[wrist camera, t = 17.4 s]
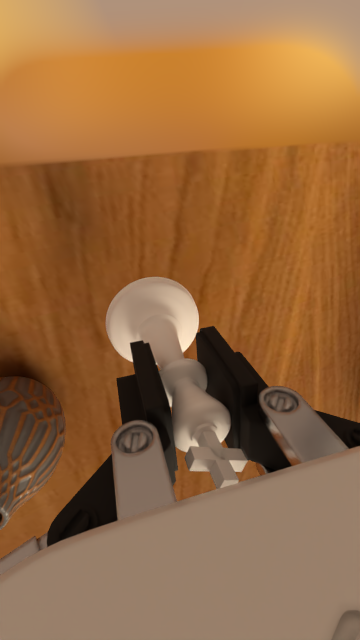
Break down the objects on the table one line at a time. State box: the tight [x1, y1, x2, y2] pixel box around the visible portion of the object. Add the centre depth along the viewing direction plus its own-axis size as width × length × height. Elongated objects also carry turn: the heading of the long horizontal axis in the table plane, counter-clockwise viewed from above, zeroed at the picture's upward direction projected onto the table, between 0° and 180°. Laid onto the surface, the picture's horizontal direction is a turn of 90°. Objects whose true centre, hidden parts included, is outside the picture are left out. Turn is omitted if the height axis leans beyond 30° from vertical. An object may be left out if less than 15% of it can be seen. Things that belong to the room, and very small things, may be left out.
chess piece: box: [106, 277, 247, 489], centre depth 12 cm, size 5×5×10 cm
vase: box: [0, 376, 66, 530], centre depth 19 cm, size 7×7×9 cm
